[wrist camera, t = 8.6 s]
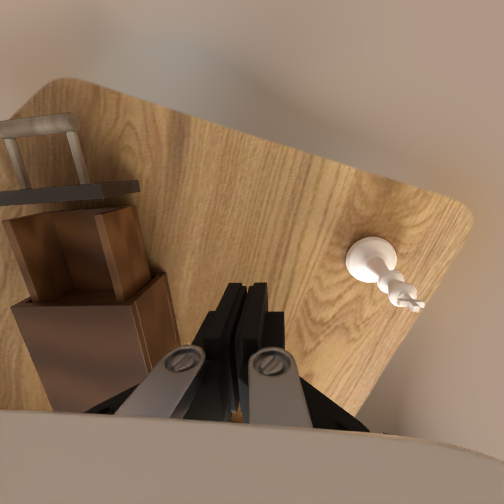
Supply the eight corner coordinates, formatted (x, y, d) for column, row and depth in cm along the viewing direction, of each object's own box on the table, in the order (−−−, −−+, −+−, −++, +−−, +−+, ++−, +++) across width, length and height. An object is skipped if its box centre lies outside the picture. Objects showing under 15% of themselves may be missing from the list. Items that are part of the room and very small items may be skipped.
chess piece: (390, 281, 28) (445, 342, 18) (342, 279, 28) (372, 336, 19) (399, 237, 26) (464, 278, 17) (349, 235, 27) (385, 273, 17)
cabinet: (70, 275, 32) (9, 306, 25) (166, 272, 30) (130, 305, 23) (99, 364, 36) (54, 413, 29) (184, 366, 35) (159, 418, 27)
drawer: (21, 130, 26) (-48, 121, 21) (125, 117, 25) (80, 104, 19) (73, 292, 32) (30, 318, 26) (161, 290, 30) (134, 317, 25)
